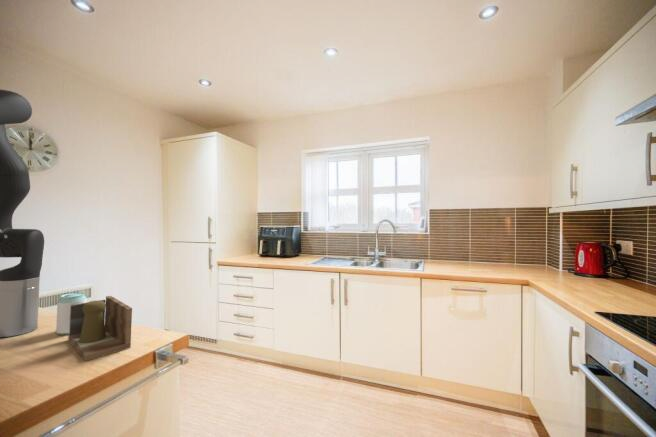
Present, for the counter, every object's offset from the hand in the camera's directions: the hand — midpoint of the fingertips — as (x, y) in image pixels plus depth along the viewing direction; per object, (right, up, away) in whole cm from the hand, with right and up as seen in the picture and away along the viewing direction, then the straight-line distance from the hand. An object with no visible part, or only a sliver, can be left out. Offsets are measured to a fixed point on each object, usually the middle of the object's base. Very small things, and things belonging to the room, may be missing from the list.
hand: (17, 249), depth 70 cm
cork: (+11, -28, +10) cm, 31 cm away
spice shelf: (+12, -29, +10) cm, 33 cm away
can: (-4, -29, +19) cm, 35 cm away
